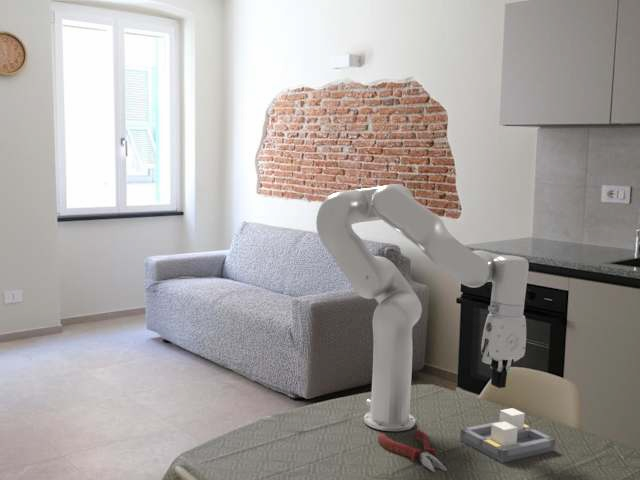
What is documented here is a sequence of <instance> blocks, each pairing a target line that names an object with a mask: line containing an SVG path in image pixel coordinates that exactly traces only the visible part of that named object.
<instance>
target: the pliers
mask: <svg viewBox="0 0 640 480" xmlns="http://www.w3.org/2000/svg"><path fill="white" fill-rule="evenodd" d="M414 438H416V439H417V440H418V441H419V442H421V444H422V445H423V450H422V449H420V448H416V447H413V446H410V445H406V444H404V443H401V442H398V441H395V440H392V439H390V438H388V437H387V436H386V435H385V434H384V433H380V434H379V435H378V437H377V442H378V443H379V445H381V446H382V447H383V448H384V449H386V450H387V451H389V452H392V453H396V454H398V455H401V456H404V457H407V458H410V462H413V463H414V462H416V461H417V462H419V461H420V462H421V465H423V466H424V467H425V468H427V469H428V470H430V471H431V472H432V473H434V474H436V473H437V471H436V470H435V468H436V469H437V468H438V469H440V470H442V471H444V472H445V471H446V472H448V468H447V467H446V466H445V465H443V463H442V462H441V461H440V460H439V459H438V458H437V457H435V456H436V450H435V449H434V448H432V447H431V441H430V439H429V436H428V435H427V434H426V433H424V432H423V431H421V430H420V429H415V431H414ZM434 467H435V468H434Z"/></svg>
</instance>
